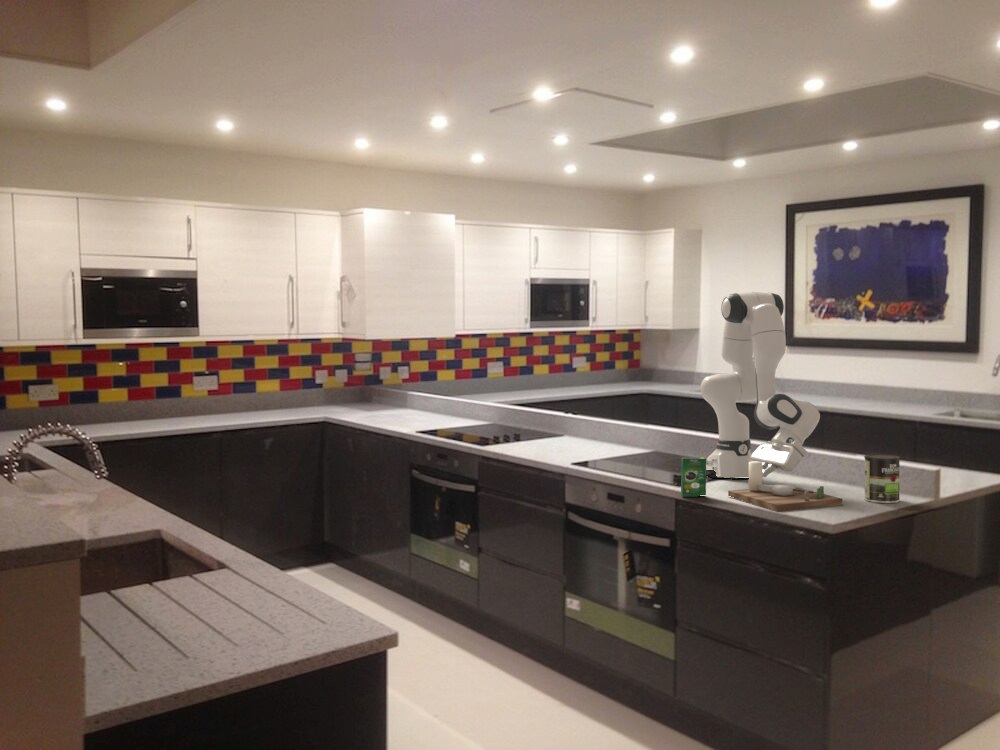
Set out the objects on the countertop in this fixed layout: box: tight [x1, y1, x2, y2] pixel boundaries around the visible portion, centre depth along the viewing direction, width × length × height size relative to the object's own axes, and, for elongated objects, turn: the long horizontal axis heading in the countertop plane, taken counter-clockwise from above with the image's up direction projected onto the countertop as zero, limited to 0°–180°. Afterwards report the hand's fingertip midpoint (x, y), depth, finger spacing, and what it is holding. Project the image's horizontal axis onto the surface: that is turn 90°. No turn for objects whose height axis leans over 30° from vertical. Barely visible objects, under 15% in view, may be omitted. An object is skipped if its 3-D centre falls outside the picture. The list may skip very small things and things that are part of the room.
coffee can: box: [864, 453, 901, 504], centre depth 271 cm, size 10×10×14 cm
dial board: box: [727, 485, 843, 512], centre depth 274 cm, size 26×24×5 cm
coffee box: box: [680, 457, 707, 498], centre depth 284 cm, size 8×3×13 cm, turn 88°
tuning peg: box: [748, 461, 814, 496], centre depth 274 cm, size 22×7×9 cm, turn 42°
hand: (761, 475), depth 283 cm, fingers closed
